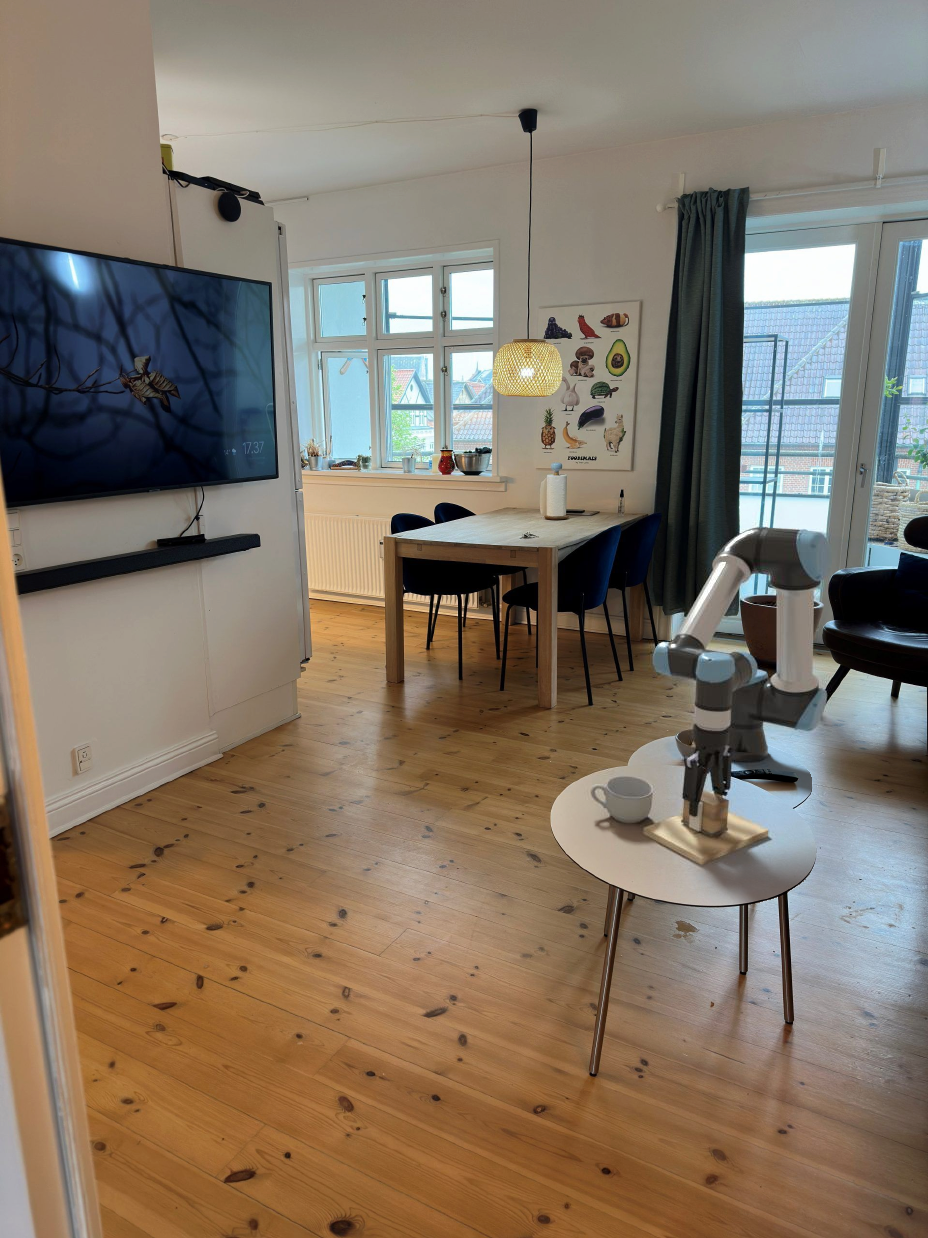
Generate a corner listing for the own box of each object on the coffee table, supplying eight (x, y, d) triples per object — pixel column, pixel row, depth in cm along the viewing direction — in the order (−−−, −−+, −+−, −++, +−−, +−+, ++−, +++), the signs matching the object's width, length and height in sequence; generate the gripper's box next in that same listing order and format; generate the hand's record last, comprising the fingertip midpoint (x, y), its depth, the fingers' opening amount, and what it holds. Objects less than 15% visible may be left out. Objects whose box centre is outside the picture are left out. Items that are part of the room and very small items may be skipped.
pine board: (709, 809, 191) (710, 803, 191) (768, 836, 178) (768, 829, 178) (643, 834, 179) (643, 827, 179) (701, 865, 166) (701, 858, 166)
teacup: (655, 811, 190) (657, 779, 188) (647, 832, 180) (649, 798, 178) (596, 801, 195) (597, 770, 193) (585, 821, 185) (586, 788, 183)
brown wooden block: (697, 816, 183) (699, 787, 182) (727, 830, 176) (730, 800, 175) (681, 822, 180) (682, 792, 179) (711, 836, 173) (713, 806, 172)
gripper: (725, 712, 181) (718, 808, 186) (668, 728, 171) (662, 829, 176) (753, 722, 175) (745, 820, 180) (695, 739, 165) (688, 843, 170)
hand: (704, 824), depth 178 cm, fingers closed on brown wooden block, 5 cm apart
